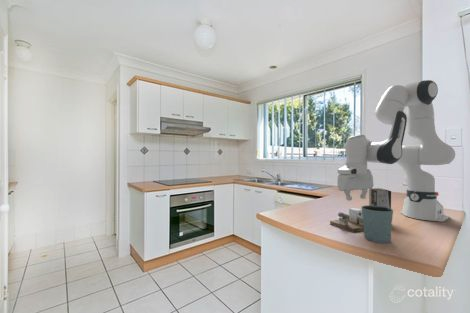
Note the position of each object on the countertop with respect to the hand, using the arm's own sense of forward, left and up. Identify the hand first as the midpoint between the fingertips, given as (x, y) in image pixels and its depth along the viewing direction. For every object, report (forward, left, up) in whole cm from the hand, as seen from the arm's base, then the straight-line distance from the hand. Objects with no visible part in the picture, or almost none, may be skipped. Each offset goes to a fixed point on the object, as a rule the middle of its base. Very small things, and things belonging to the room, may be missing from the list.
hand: (356, 199), depth 101 cm
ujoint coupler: (0, 0, -11) cm, 11 cm away
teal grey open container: (+8, +15, -12) cm, 21 cm away
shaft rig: (0, 0, -12) cm, 12 cm away
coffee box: (-16, +1, -12) cm, 20 cm away
